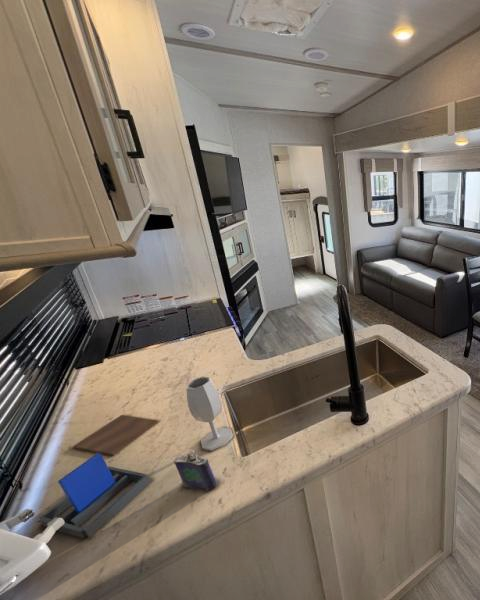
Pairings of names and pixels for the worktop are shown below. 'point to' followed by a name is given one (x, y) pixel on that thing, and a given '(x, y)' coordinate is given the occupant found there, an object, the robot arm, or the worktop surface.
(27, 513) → the robot arm
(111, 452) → the board
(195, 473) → the flask
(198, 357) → the worktop surface
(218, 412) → the wineglass
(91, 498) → the lid
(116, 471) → the rack
